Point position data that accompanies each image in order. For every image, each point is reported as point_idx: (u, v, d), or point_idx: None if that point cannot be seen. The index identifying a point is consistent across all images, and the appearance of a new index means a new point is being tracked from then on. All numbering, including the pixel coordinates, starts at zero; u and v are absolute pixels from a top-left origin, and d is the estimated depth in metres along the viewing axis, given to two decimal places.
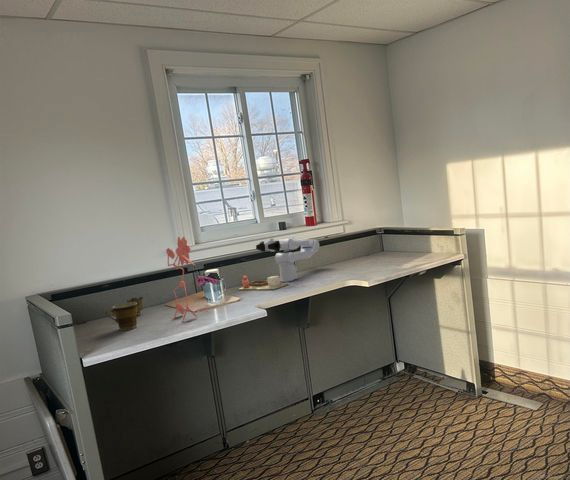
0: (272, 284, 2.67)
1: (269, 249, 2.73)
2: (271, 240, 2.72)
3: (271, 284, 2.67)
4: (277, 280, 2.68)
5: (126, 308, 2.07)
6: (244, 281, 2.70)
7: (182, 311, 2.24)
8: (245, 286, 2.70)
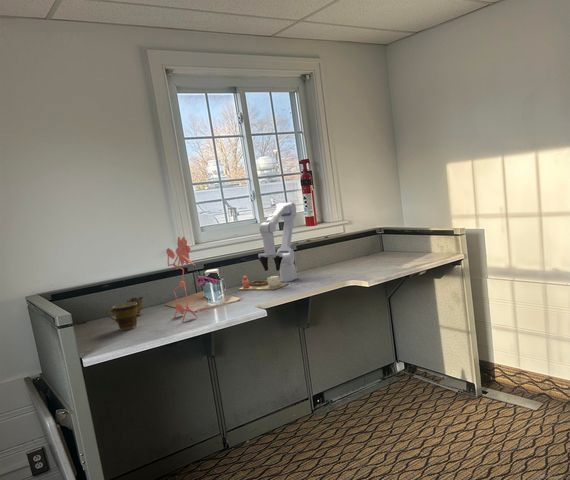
0: (272, 284, 2.67)
1: None
2: (267, 255, 2.65)
3: (271, 284, 2.67)
4: (277, 280, 2.68)
5: (126, 308, 2.07)
6: (244, 281, 2.70)
7: (182, 311, 2.24)
8: (245, 286, 2.70)
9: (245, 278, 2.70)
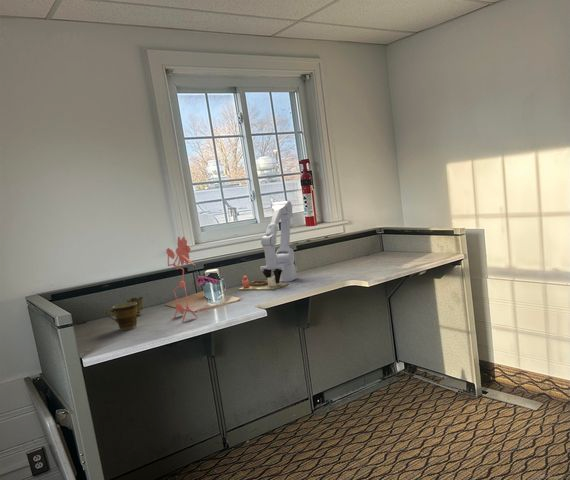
0: (272, 284, 2.67)
1: None
2: (268, 268, 2.66)
3: (271, 284, 2.67)
4: None
5: (126, 308, 2.07)
6: (244, 281, 2.70)
7: (182, 311, 2.24)
8: (245, 286, 2.70)
9: (245, 278, 2.70)
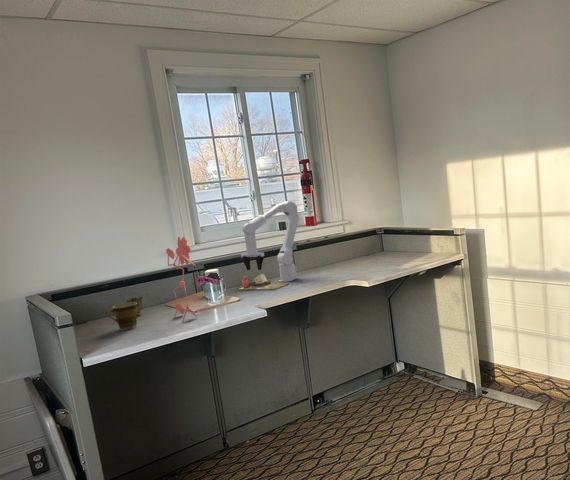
0: (257, 282, 2.73)
1: None
2: (248, 255, 2.73)
3: (256, 281, 2.73)
4: None
5: (126, 308, 2.07)
6: (244, 281, 2.70)
7: (182, 311, 2.24)
8: (245, 286, 2.70)
9: (245, 278, 2.70)
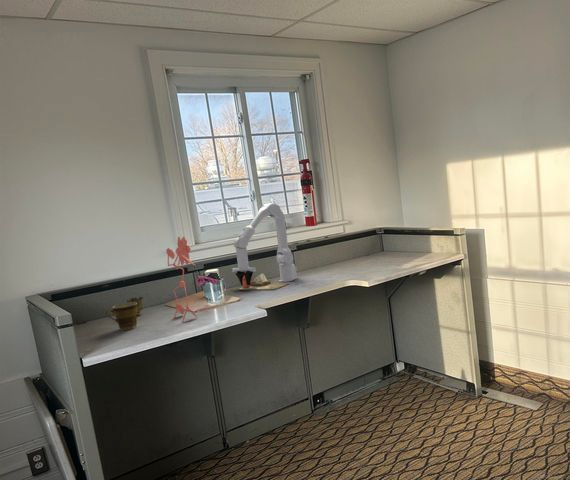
0: (257, 282, 2.73)
1: None
2: (240, 270, 2.68)
3: (256, 281, 2.73)
4: None
5: (126, 308, 2.07)
6: (244, 281, 2.70)
7: (182, 311, 2.24)
8: (245, 286, 2.70)
9: (245, 278, 2.70)
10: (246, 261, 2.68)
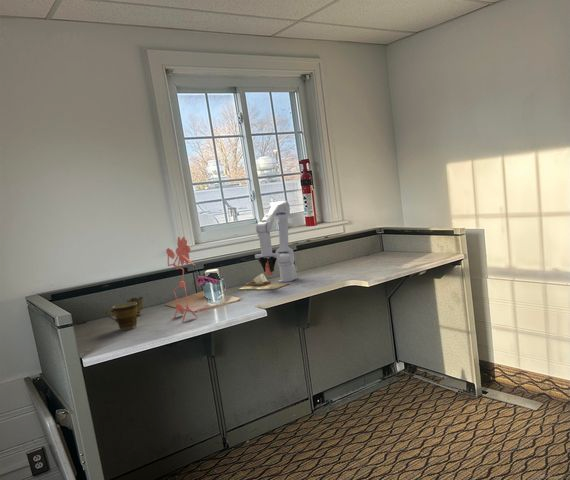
0: (257, 282, 2.73)
1: None
2: (263, 256, 2.58)
3: (256, 281, 2.73)
4: None
5: (126, 308, 2.07)
6: (267, 267, 2.60)
7: (182, 311, 2.24)
8: (268, 273, 2.60)
9: (268, 264, 2.60)
10: (269, 247, 2.58)
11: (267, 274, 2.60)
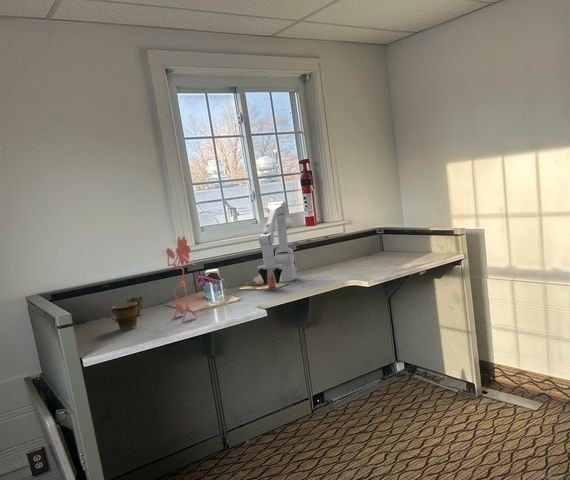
0: (257, 282, 2.73)
1: None
2: (266, 268, 2.58)
3: (256, 281, 2.73)
4: None
5: (126, 308, 2.07)
6: (270, 281, 2.60)
7: (182, 311, 2.24)
8: (271, 286, 2.60)
9: (271, 278, 2.60)
10: (272, 258, 2.59)
11: (270, 287, 2.60)
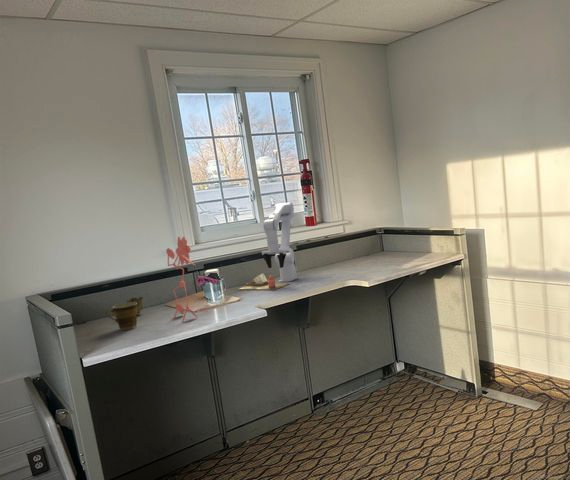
0: (257, 282, 2.73)
1: None
2: (270, 252, 2.64)
3: (256, 281, 2.73)
4: None
5: (126, 308, 2.07)
6: (270, 281, 2.60)
7: (182, 311, 2.24)
8: (271, 286, 2.60)
9: (271, 278, 2.60)
10: (276, 243, 2.64)
11: (270, 287, 2.60)
